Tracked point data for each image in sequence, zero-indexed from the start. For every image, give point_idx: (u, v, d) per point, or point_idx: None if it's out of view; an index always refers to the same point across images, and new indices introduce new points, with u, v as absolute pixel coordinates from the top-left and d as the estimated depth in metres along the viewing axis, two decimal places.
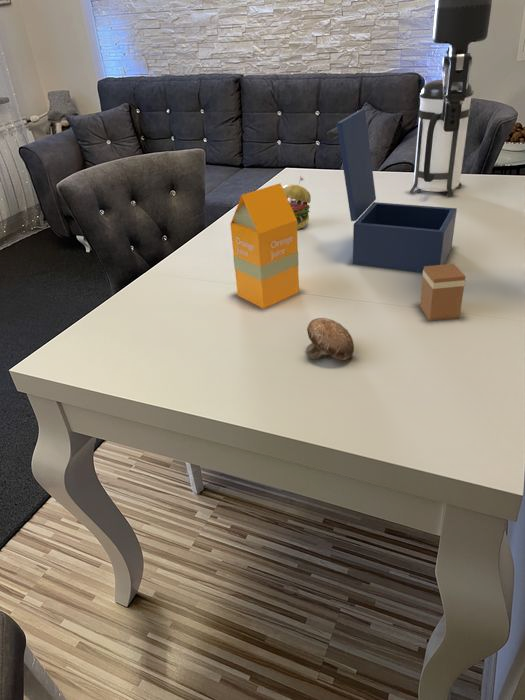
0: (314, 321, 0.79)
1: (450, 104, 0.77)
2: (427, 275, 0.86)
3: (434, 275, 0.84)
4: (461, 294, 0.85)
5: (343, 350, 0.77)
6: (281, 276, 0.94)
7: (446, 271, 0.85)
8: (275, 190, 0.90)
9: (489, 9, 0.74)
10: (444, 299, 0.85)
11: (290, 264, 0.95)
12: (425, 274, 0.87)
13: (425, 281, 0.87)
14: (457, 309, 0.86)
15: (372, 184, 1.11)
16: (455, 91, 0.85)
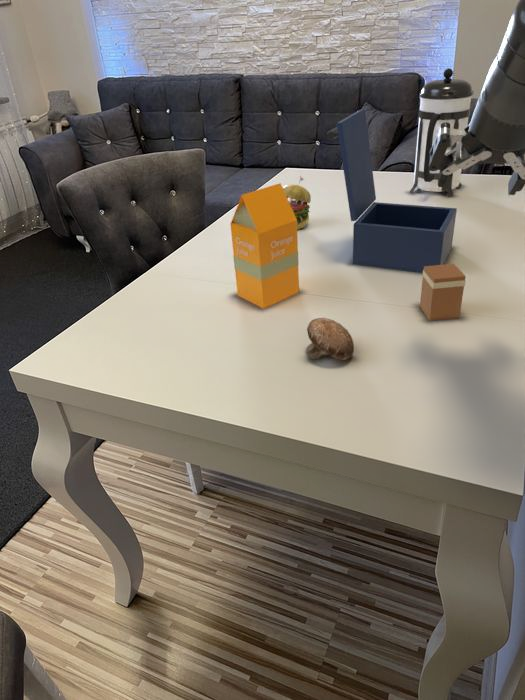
0: (314, 321, 0.79)
1: None
2: (427, 275, 0.86)
3: (434, 275, 0.84)
4: (461, 294, 0.85)
5: (343, 349, 0.77)
6: (281, 276, 0.94)
7: (446, 271, 0.85)
8: (275, 190, 0.90)
9: None
10: (444, 299, 0.85)
11: (290, 264, 0.95)
12: (425, 274, 0.87)
13: (425, 281, 0.87)
14: (457, 309, 0.86)
15: (372, 184, 1.11)
16: (452, 161, 0.68)
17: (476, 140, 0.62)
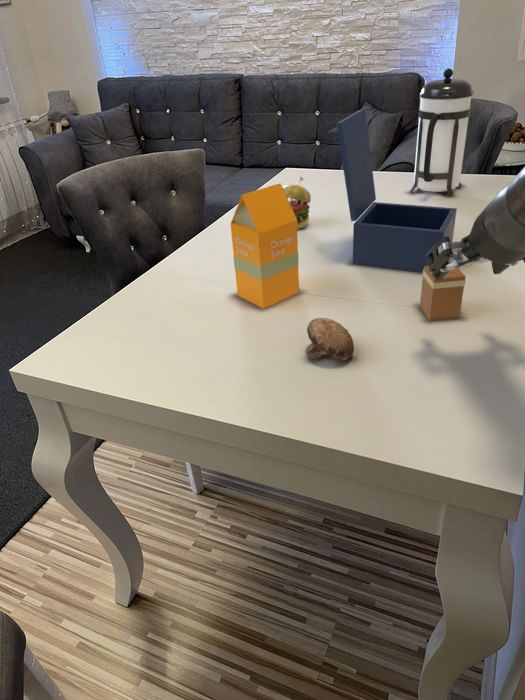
0: (314, 321, 0.79)
1: None
2: (427, 275, 0.86)
3: None
4: (461, 294, 0.85)
5: (343, 350, 0.77)
6: (281, 276, 0.94)
7: None
8: (275, 190, 0.90)
9: None
10: (444, 299, 0.85)
11: (290, 264, 0.95)
12: (425, 274, 0.87)
13: (425, 281, 0.87)
14: (457, 309, 0.86)
15: (372, 184, 1.11)
16: None
17: (476, 251, 0.67)
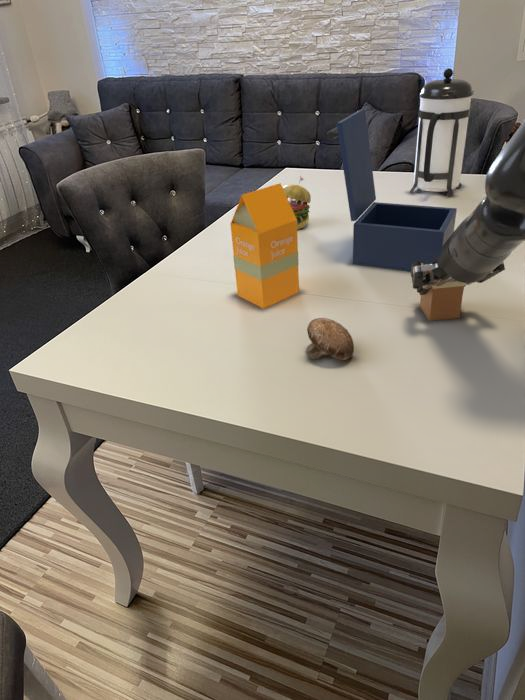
0: (314, 321, 0.79)
1: None
2: None
3: None
4: (461, 294, 0.85)
5: (343, 350, 0.77)
6: (281, 276, 0.94)
7: None
8: (275, 190, 0.90)
9: None
10: (444, 299, 0.85)
11: (290, 264, 0.95)
12: None
13: None
14: (457, 309, 0.86)
15: (372, 184, 1.11)
16: (428, 276, 0.85)
17: (444, 271, 0.78)
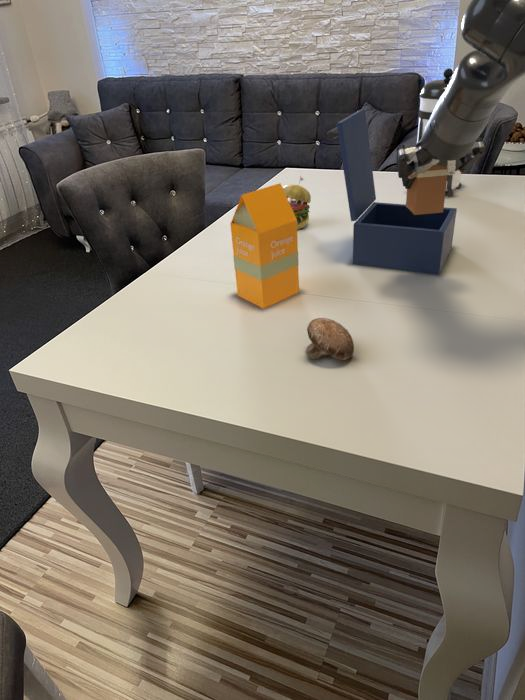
0: (314, 321, 0.79)
1: None
2: None
3: None
4: (445, 184, 0.89)
5: (343, 350, 0.77)
6: (281, 276, 0.94)
7: None
8: (275, 190, 0.90)
9: None
10: (428, 189, 0.89)
11: (290, 264, 0.95)
12: None
13: None
14: (441, 200, 0.90)
15: (372, 184, 1.11)
16: (413, 167, 0.89)
17: (427, 152, 0.82)
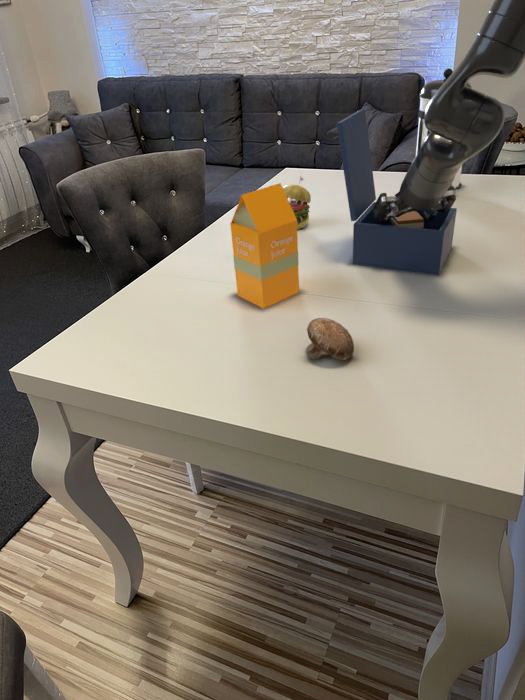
0: (314, 321, 0.79)
1: (437, 212, 1.03)
2: (393, 219, 1.06)
3: (398, 219, 1.04)
4: None
5: (343, 350, 0.77)
6: (281, 276, 0.94)
7: (408, 216, 1.05)
8: (275, 190, 0.90)
9: None
10: None
11: (290, 264, 0.95)
12: (392, 219, 1.07)
13: (392, 225, 1.07)
14: None
15: (372, 184, 1.11)
16: None
17: (404, 202, 0.97)
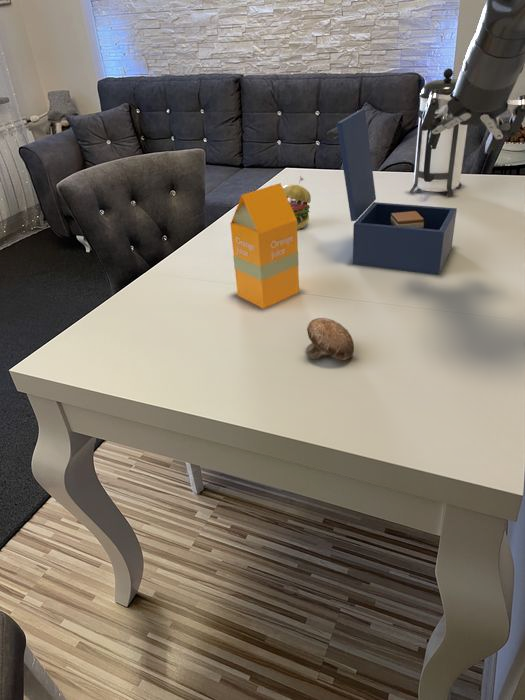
0: (314, 321, 0.79)
1: (503, 135, 0.83)
2: (393, 219, 1.06)
3: (398, 219, 1.04)
4: None
5: (343, 350, 0.77)
6: (281, 276, 0.94)
7: (408, 216, 1.05)
8: (275, 190, 0.90)
9: None
10: None
11: (290, 264, 0.95)
12: (392, 219, 1.07)
13: (392, 225, 1.07)
14: None
15: (372, 184, 1.11)
16: (440, 123, 0.84)
17: (459, 104, 0.77)
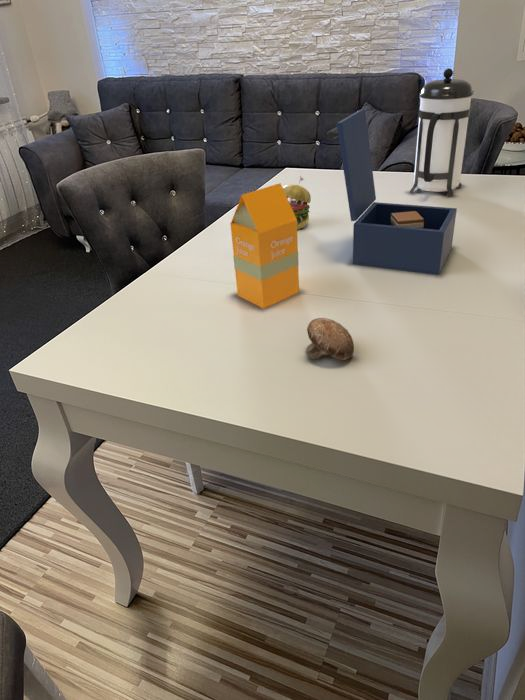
0: (314, 321, 0.79)
1: None
2: (393, 219, 1.06)
3: (398, 219, 1.04)
4: None
5: (343, 350, 0.77)
6: (281, 276, 0.94)
7: (408, 216, 1.05)
8: (275, 190, 0.90)
9: None
10: None
11: (290, 264, 0.95)
12: (392, 219, 1.07)
13: (392, 225, 1.07)
14: None
15: (372, 184, 1.11)
16: None
17: None
